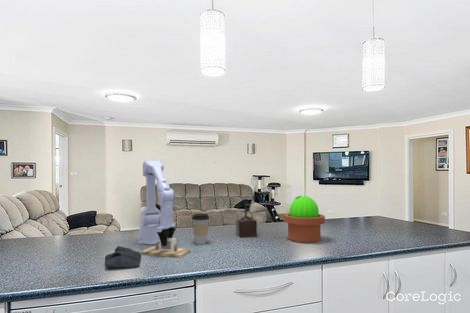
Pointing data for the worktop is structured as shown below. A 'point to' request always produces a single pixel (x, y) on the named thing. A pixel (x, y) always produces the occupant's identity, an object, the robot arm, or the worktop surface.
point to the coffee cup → (200, 228)
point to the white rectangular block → (168, 245)
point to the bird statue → (246, 225)
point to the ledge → (166, 252)
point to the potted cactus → (304, 220)
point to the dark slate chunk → (123, 258)
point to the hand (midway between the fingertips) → (166, 244)
